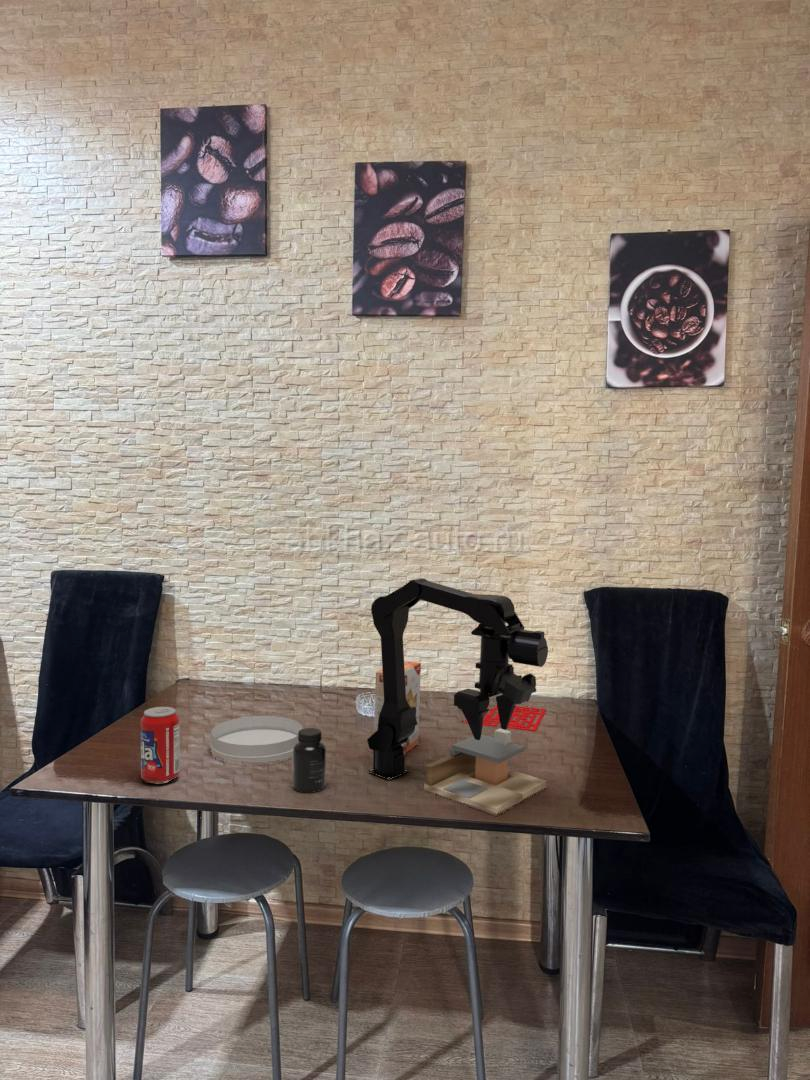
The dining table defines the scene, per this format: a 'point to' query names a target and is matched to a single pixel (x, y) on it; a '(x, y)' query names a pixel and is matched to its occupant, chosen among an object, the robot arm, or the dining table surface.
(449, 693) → the dining table surface
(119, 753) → the dining table surface
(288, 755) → the dish
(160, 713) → the soda can
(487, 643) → the robot arm
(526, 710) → the maze puzzle
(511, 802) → the puzzle board
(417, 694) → the cracker box
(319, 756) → the supplement bottle
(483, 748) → the sliding cover
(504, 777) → the block
